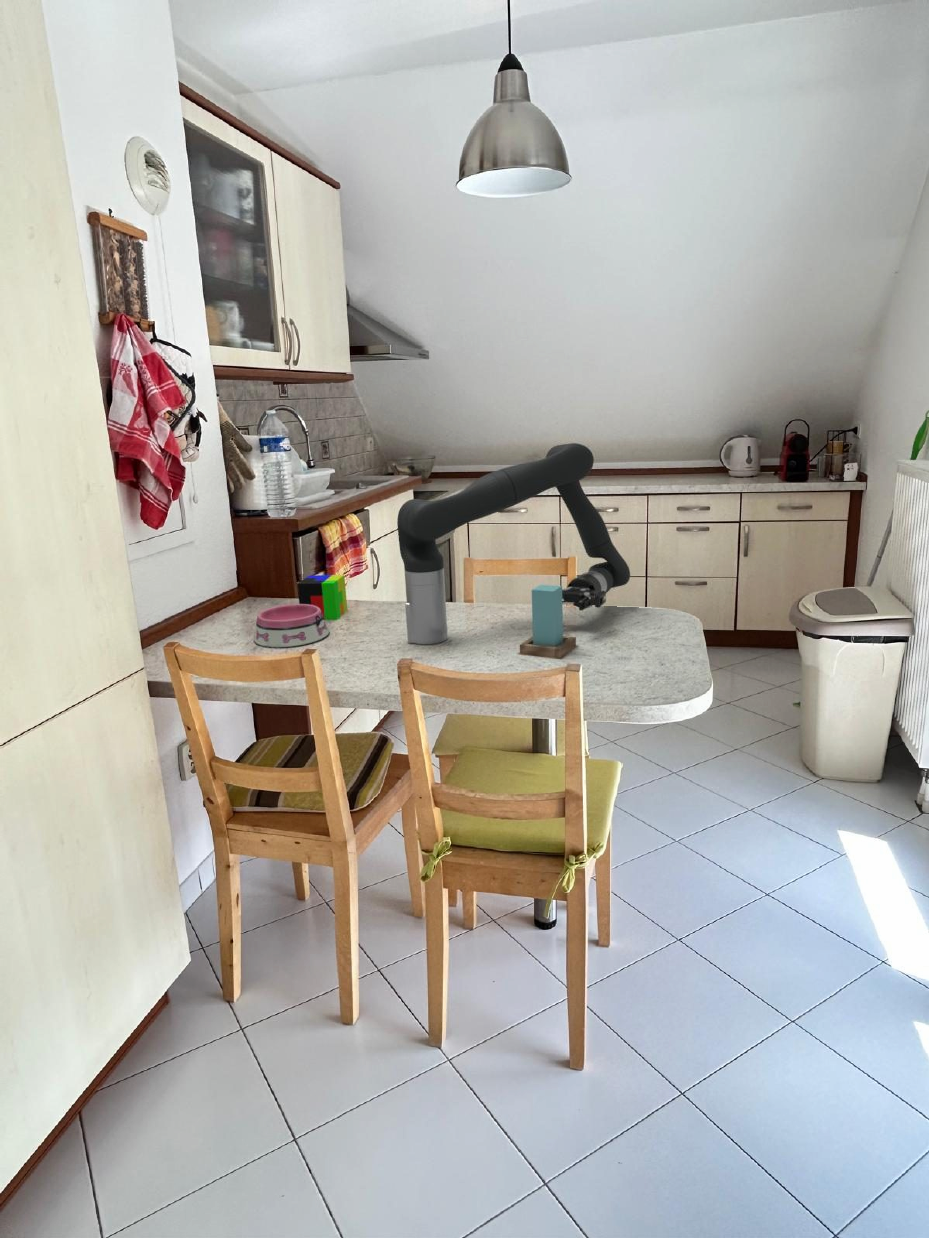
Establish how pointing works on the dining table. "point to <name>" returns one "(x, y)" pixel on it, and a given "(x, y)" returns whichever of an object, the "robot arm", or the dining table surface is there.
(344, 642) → the dining table surface
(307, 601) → the puzzle toy
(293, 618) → the dog bowl
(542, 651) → the square wooden tray
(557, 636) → the block
